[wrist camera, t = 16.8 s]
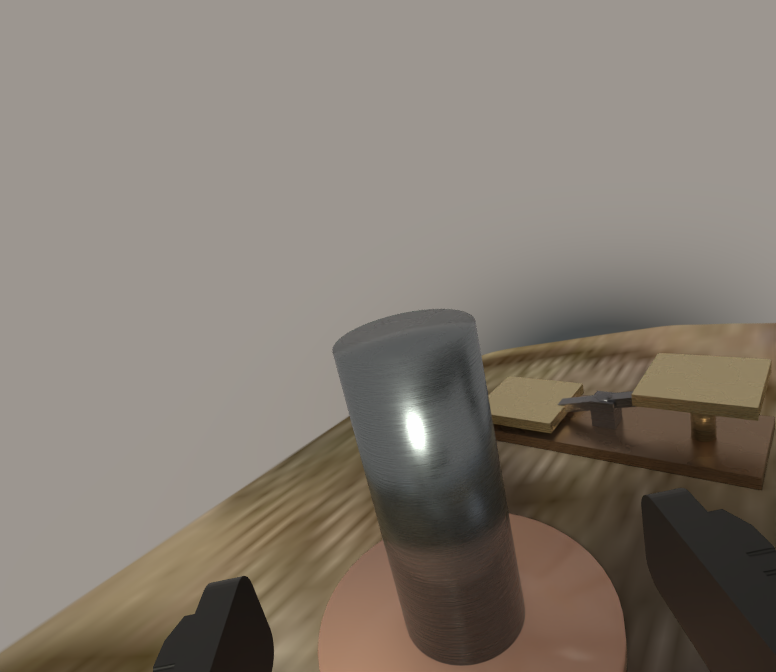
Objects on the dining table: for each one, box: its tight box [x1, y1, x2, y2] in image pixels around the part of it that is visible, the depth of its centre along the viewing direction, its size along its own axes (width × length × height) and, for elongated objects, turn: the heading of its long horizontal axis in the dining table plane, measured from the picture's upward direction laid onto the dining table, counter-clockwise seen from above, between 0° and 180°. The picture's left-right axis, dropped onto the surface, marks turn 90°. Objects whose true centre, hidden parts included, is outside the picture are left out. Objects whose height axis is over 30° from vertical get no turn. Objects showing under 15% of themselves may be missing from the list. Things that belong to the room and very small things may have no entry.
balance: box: [488, 353, 775, 490], centre depth 37 cm, size 19×7×5 cm, turn 51°
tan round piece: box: [318, 514, 627, 672], centre depth 25 cm, size 14×14×1 cm
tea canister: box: [333, 309, 525, 666], centre depth 23 cm, size 6×6×14 cm
